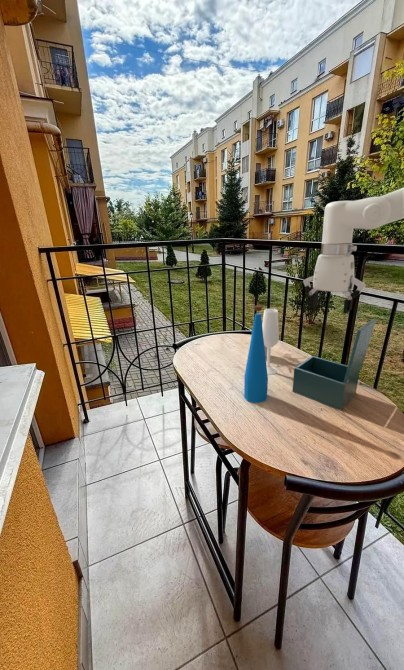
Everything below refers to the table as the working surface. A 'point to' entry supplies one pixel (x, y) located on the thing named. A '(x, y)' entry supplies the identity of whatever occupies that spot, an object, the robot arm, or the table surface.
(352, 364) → the lid
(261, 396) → the bottle
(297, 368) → the tin box
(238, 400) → the table surface
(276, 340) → the champagne flute
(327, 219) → the robot arm
